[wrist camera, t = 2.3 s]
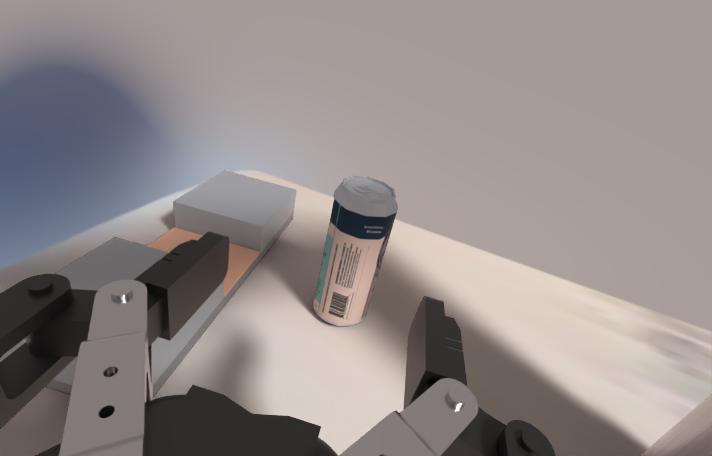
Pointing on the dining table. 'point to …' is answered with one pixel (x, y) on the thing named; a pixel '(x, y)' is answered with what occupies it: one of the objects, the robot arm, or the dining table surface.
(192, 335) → the grey peach bar
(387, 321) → the dining table surface
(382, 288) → the dining table surface
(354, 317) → the beer can
